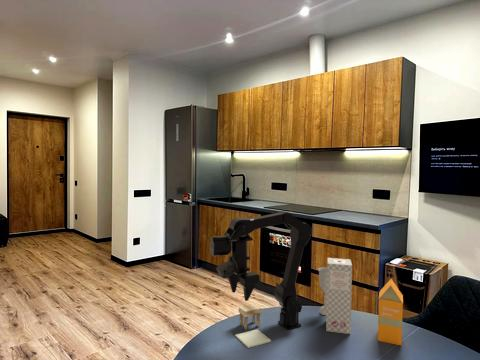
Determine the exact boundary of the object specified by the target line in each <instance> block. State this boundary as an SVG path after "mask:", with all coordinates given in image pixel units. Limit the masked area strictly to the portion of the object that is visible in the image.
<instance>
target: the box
mask: <svg viewBox="0 0 480 360" xmlns="http://www.w3.org/2000/svg"><path fill="white" fill-rule="evenodd" d="M326 265H327V266H326V267H327V307H326V315H325V317H326V318H325V319H326V320H325V323H326V324H325V325H326V326H325V328H326V330H325V331H326V332H330V333H331V332H332V333H337V334H338V333H339V334H347V335H351V326H352V325H351V324H352V293H353V292H352V290H353V289H352V288H353V287H352V286H353V285H352V283H353V281H352V279H353V264H352V260H351V258H350V259H349V258H336V257H334V258H333V257H327V264H326Z"/></svg>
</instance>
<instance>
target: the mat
mask: <svg viewBox="0 0 480 360" xmlns="http://www.w3.org/2000/svg"><path fill="white" fill-rule="evenodd" d="M234 336H235V337H236V338H237V340H239V341H240V342H241V343H242V344H243V345H244V346H245V347H247V348H248V349H251V348H252V347H253V348H254V347H257V346H261V345H265V344H267V343H271V342H272V339H270V338H269V337H268V336H266V335H265V334H264V333H263V332H261V331H260V330H259V329H258V328H257V329H253V330H248V331H245V332H242V333H241V332H240V333H236V334H235V335H234Z"/></svg>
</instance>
